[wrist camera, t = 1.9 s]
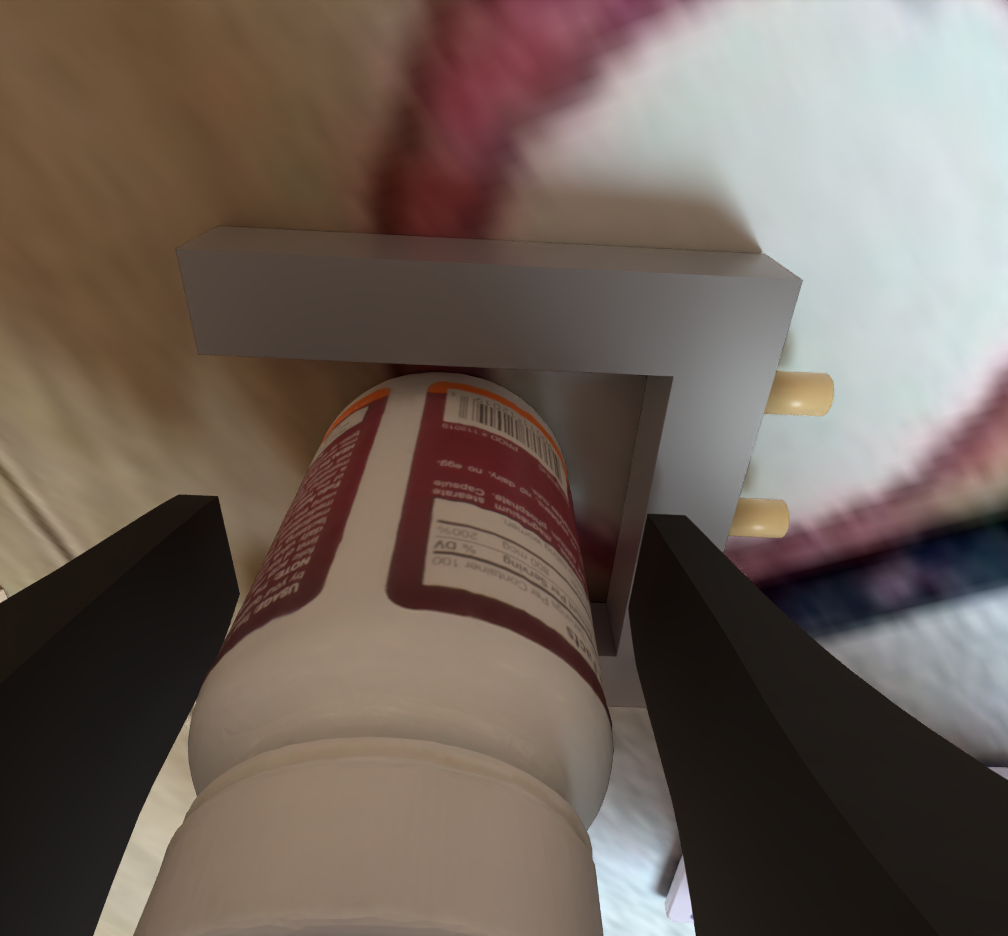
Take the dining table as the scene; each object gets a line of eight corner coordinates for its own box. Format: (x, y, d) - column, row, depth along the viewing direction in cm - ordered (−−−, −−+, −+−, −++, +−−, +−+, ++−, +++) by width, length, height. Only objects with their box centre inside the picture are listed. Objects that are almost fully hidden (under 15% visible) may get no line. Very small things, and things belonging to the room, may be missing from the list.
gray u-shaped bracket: (840, 257, 10) (889, 284, 9) (714, 655, 15) (733, 710, 14) (218, 226, 10) (175, 249, 9) (291, 640, 15) (271, 694, 13)
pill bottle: (366, 590, 14) (218, 1144, 7) (282, 392, 11) (-97, 935, 4) (585, 555, 13) (680, 1116, 6) (547, 340, 11) (628, 858, 4)
